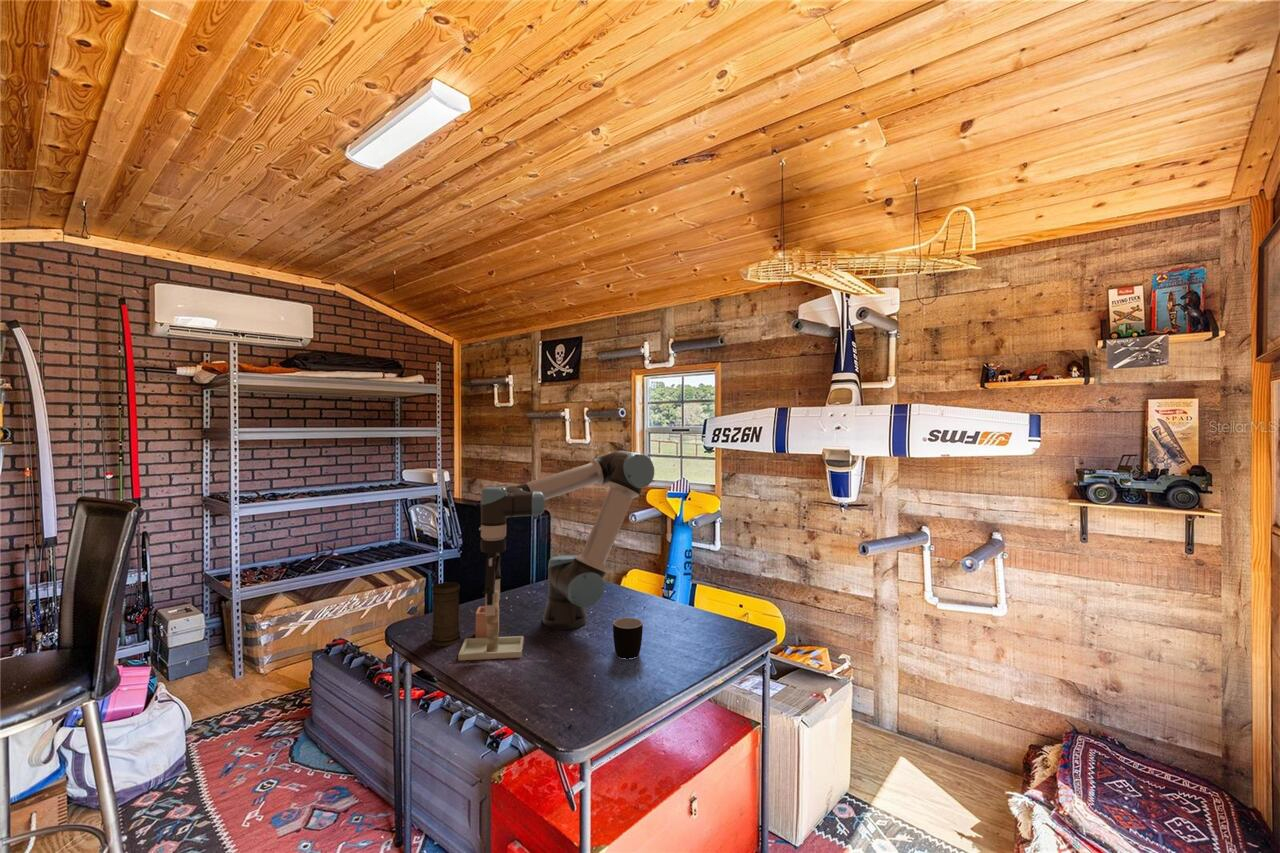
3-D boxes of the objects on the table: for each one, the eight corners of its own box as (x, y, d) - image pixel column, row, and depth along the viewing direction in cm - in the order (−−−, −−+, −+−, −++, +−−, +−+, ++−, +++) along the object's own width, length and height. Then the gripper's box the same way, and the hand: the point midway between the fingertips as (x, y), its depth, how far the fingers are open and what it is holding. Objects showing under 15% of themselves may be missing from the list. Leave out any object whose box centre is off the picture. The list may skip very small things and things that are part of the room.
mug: (648, 657, 167) (648, 624, 167) (623, 665, 162) (623, 630, 162) (626, 644, 177) (626, 612, 176) (602, 650, 172) (602, 618, 171)
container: (451, 648, 172) (451, 590, 171) (425, 646, 173) (425, 588, 173) (466, 637, 180) (466, 582, 180) (441, 635, 182) (441, 580, 182)
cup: (498, 632, 185) (499, 605, 184) (496, 640, 178) (496, 612, 178) (478, 633, 184) (478, 606, 184) (475, 641, 177) (475, 613, 177)
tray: (523, 642, 177) (523, 636, 177) (521, 659, 165) (521, 651, 165) (465, 645, 174) (465, 638, 174) (458, 662, 162) (458, 654, 162)
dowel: (498, 647, 171) (499, 589, 171) (497, 652, 168) (498, 593, 168) (487, 648, 171) (487, 590, 170) (485, 652, 168) (486, 593, 167)
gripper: (486, 529, 181) (485, 594, 181) (474, 547, 156) (473, 622, 156) (509, 529, 182) (509, 594, 182) (501, 547, 157) (501, 621, 157)
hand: (492, 607), depth 169 cm, fingers open, 13 cm apart
